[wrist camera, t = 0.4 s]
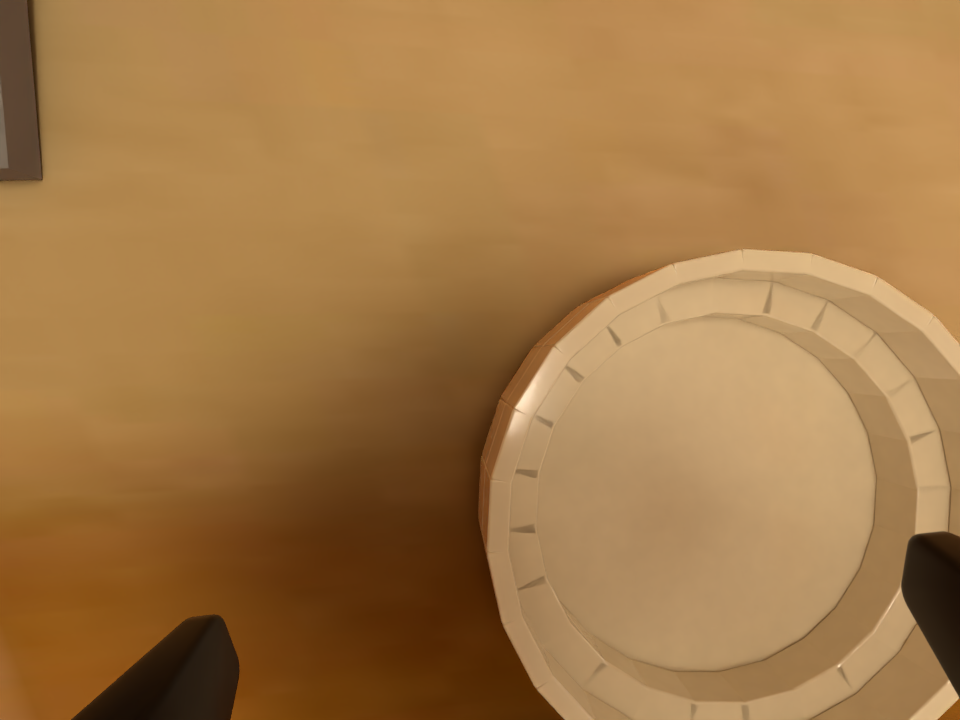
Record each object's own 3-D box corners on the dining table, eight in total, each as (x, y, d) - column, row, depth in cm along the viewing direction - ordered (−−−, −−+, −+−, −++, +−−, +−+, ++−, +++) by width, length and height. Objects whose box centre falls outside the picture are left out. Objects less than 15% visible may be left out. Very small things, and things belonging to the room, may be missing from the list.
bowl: (978, 579, 23) (1107, 634, 19) (602, 788, 22) (644, 898, 18) (792, 194, 23) (880, 155, 18) (399, 396, 22) (389, 408, 17)
